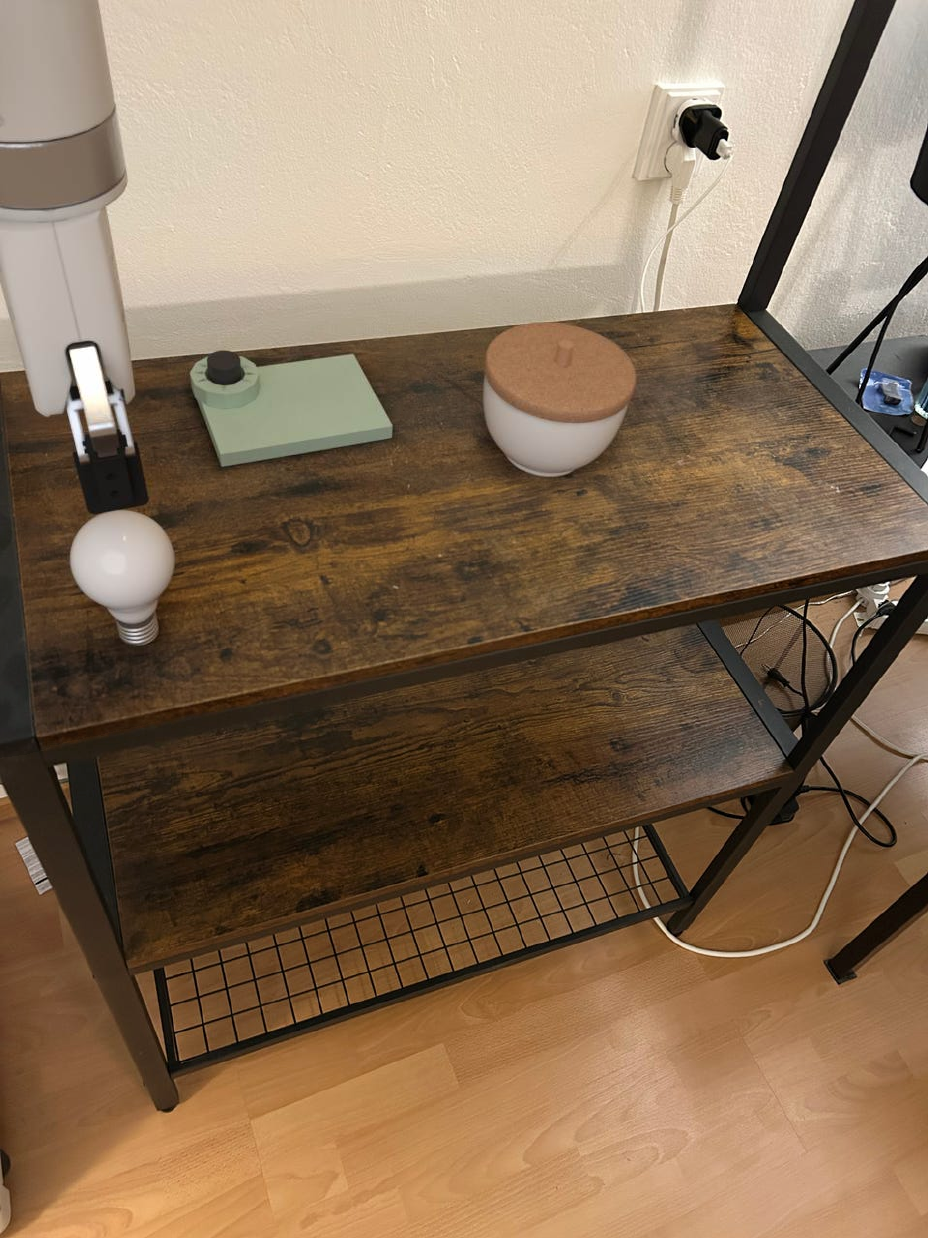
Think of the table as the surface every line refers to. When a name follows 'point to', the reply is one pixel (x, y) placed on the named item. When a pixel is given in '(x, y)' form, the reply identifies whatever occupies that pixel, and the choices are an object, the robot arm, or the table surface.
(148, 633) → the lightbulb
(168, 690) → the table surface
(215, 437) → the green dial base
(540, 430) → the lidded bowl
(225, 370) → the tare button
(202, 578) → the table surface
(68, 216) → the robot arm
